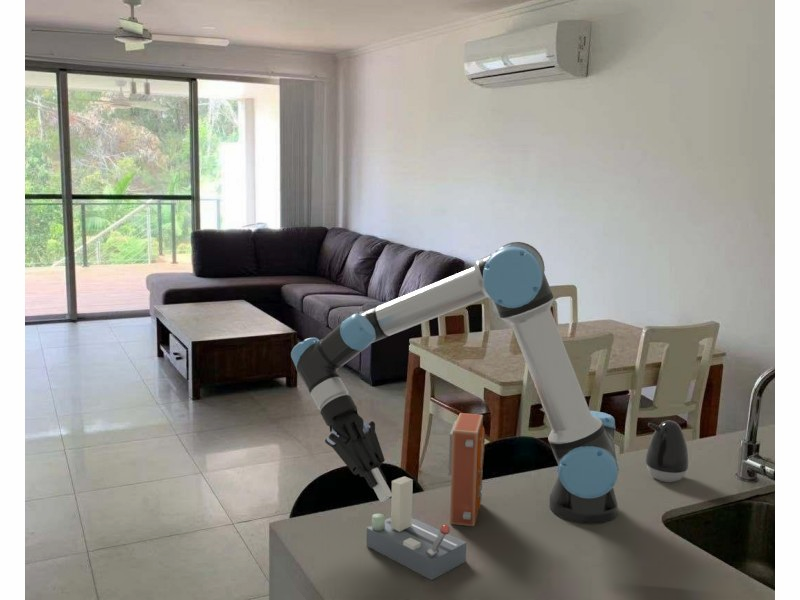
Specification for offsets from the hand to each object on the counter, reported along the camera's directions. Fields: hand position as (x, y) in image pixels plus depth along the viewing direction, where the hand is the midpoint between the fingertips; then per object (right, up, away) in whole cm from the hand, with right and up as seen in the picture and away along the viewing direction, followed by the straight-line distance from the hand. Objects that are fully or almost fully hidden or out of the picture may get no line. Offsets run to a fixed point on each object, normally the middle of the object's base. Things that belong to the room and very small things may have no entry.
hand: (386, 498), depth 153 cm
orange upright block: (+17, -7, +14) cm, 24 cm away
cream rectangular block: (+3, -5, -2) cm, 6 cm away
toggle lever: (+9, -7, -13) cm, 17 cm away
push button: (-2, -5, -3) cm, 6 cm away
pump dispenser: (+70, -4, +36) cm, 79 cm away
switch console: (+6, -10, -4) cm, 12 cm away
